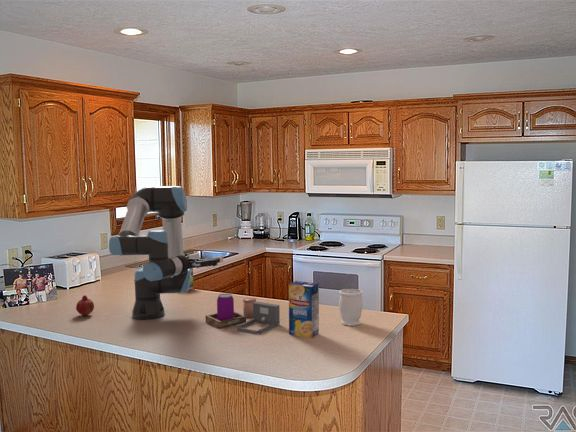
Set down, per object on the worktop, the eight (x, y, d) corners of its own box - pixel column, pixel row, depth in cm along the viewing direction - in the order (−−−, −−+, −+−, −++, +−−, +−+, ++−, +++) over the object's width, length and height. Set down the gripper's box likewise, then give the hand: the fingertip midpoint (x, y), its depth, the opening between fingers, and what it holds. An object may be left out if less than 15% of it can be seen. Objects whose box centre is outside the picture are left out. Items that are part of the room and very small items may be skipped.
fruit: (97, 315, 261) (96, 295, 260) (81, 318, 255) (80, 298, 254) (89, 312, 266) (88, 292, 265) (73, 315, 261) (72, 295, 259)
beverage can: (233, 323, 244) (232, 297, 243) (216, 323, 244) (215, 297, 243) (235, 318, 252) (234, 293, 250) (218, 318, 252) (218, 293, 250)
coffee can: (196, 285, 320) (195, 262, 319) (189, 290, 310) (188, 266, 309) (179, 285, 322) (179, 262, 321) (172, 289, 312) (172, 265, 311)
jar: (364, 321, 248) (364, 289, 246) (359, 327, 238) (360, 294, 236) (341, 319, 251) (341, 287, 250) (336, 325, 241) (336, 293, 240)
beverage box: (311, 338, 225) (311, 286, 222) (288, 334, 230) (288, 284, 228) (319, 333, 230) (318, 283, 228) (296, 329, 236) (296, 280, 233)
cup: (240, 315, 258) (240, 299, 257) (251, 313, 262) (251, 296, 261) (248, 318, 253) (247, 301, 252) (259, 316, 257) (258, 299, 256)
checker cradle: (235, 329, 236) (235, 310, 236) (257, 320, 250) (256, 301, 249) (258, 334, 230) (258, 314, 229) (279, 324, 244) (279, 305, 243)
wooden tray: (205, 321, 249) (205, 315, 248) (231, 316, 257) (231, 310, 257) (220, 328, 238) (220, 322, 238) (246, 322, 247) (246, 316, 247)
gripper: (154, 271, 226) (189, 262, 244) (200, 278, 213) (233, 268, 231) (154, 253, 225) (188, 246, 243) (199, 259, 212) (232, 251, 230)
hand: (210, 257), depth 237 cm, fingers open, 13 cm apart
